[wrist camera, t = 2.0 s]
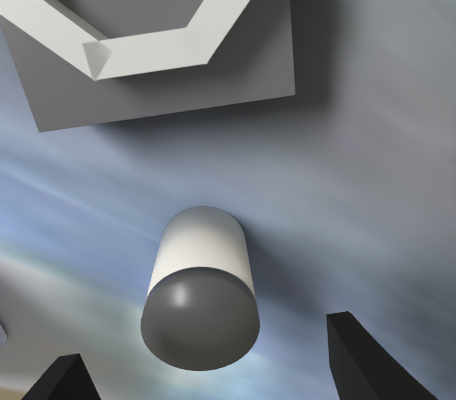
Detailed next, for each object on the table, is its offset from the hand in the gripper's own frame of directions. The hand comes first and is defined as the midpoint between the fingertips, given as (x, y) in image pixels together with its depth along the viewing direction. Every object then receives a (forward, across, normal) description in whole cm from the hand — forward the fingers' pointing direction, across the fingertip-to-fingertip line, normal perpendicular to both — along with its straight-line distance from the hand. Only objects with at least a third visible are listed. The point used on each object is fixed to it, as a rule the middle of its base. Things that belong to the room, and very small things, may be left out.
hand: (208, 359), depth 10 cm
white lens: (+8, +1, +1) cm, 9 cm away
